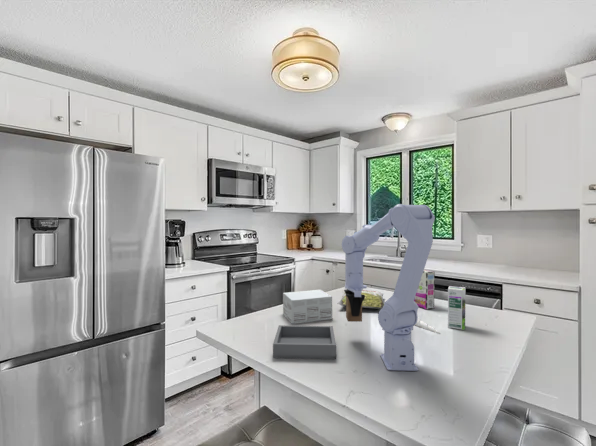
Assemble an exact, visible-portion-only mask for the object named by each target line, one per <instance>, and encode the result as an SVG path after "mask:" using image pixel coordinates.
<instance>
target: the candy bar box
mask: <svg viewBox="0 0 596 446" xmlns="http://www.w3.org/2000/svg"><path fill="white" fill-rule="evenodd" d="M435 276H436V275H435V271H433V270H428V269H424V271H423V274H422V277H421V280H420V283H419V286H418V289H417V292H416V295H415V298H414V301H415V302H416V304H417V305H418V308H420V309H422V310H423V309H424V310H433V309H435V279H436V277H435Z"/></svg>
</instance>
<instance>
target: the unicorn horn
mask: <svg viewBox="0 0 596 446" xmlns="http://www.w3.org/2000/svg"><path fill="white" fill-rule="evenodd" d="M414 326H416V327H418V328H421V329H423V330H424V329H425V330H427V331H430V332H433V333H435V332H436V334H441V332H440V331H438V330H437V329H436V328H434V327H433V326H431V325H429V324H428V323H427V322H425V321H424V320H421V319H420V318H418V320H417V323H416V324H415V325H414Z"/></svg>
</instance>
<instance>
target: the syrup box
mask: <svg viewBox="0 0 596 446" xmlns="http://www.w3.org/2000/svg"><path fill="white" fill-rule="evenodd" d="M447 328H448V329H453V330H454V329H456V330H462V331H465V330H466V287H465V286H464V287H462V286H452V285H449V286H448V288H447Z"/></svg>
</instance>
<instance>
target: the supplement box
mask: <svg viewBox="0 0 596 446" xmlns="http://www.w3.org/2000/svg"><path fill="white" fill-rule="evenodd" d="M282 314H283V316H284V317H285V318H286V319H287V320H288V321H289V322H290V323H291V324H292V325H293V324H300V323H301V324H302V323H309V322H310V323H311V322H318V321H328V320H333V296H332V295H331V294H329V293H327V292H325V291H324V290H323V289H312V290H300V291H289V292H283V293H282Z"/></svg>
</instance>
